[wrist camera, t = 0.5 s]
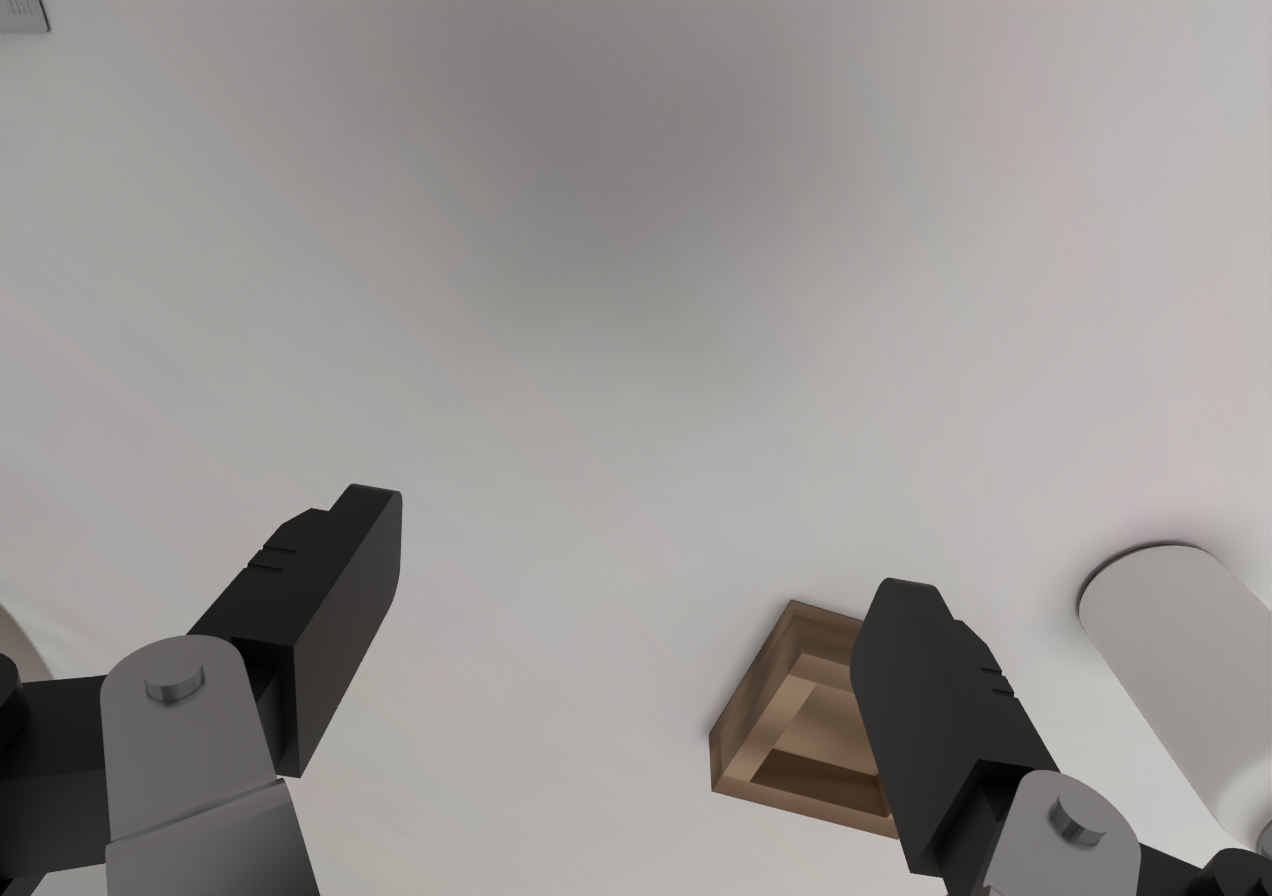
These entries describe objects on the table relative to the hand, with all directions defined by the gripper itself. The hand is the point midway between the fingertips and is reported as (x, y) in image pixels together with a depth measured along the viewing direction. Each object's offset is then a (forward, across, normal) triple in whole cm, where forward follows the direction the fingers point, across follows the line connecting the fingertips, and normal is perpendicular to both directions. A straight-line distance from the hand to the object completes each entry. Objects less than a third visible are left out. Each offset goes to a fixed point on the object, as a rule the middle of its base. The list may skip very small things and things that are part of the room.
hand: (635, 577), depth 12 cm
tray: (+19, -14, +20) cm, 31 cm away
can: (+19, -26, +10) cm, 34 cm away
